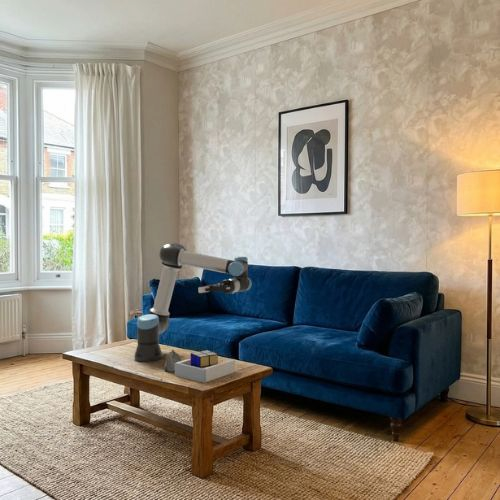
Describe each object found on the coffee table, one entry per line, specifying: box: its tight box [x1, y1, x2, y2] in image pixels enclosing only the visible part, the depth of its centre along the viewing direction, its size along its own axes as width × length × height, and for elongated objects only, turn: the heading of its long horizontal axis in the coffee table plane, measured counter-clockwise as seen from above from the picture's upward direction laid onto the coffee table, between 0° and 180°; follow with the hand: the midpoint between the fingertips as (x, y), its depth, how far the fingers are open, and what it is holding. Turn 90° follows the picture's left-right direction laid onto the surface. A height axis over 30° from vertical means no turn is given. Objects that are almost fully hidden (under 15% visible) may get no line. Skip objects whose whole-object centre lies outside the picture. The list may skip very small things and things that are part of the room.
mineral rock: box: [164, 349, 182, 373], centre depth 248 cm, size 13×11×10 cm
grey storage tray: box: [174, 358, 236, 383], centre depth 239 cm, size 22×20×6 cm
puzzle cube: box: [190, 349, 219, 369], centre depth 240 cm, size 10×10×10 cm
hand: (199, 290), depth 247 cm, fingers closed
